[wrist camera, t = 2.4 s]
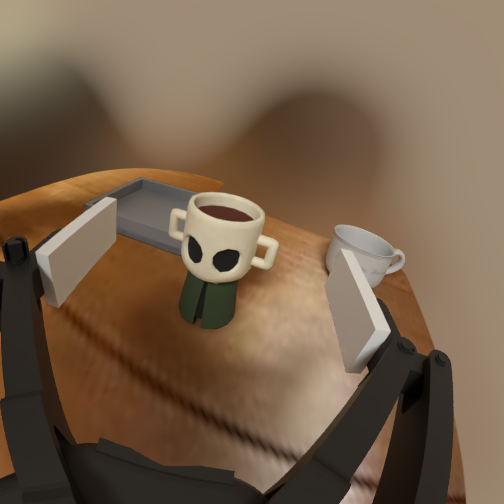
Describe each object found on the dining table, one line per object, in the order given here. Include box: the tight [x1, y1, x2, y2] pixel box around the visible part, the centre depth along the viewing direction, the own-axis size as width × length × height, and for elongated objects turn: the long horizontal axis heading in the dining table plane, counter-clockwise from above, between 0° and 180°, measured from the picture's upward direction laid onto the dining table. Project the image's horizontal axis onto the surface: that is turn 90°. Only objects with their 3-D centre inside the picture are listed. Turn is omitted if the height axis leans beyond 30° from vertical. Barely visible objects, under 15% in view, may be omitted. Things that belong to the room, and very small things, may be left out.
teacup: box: [325, 225, 405, 288], centre depth 44 cm, size 14×11×8 cm
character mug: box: [168, 192, 279, 329], centre depth 28 cm, size 11×7×13 cm, turn 76°
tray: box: [84, 177, 199, 256], centre depth 48 cm, size 24×18×3 cm
